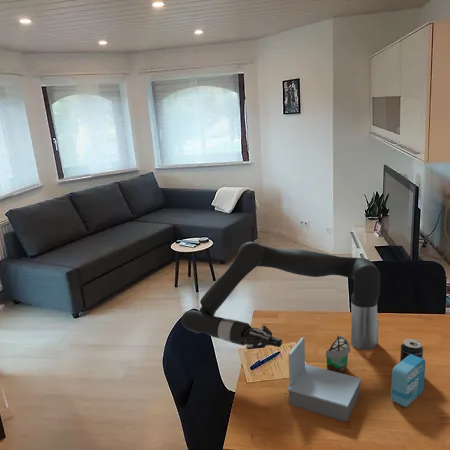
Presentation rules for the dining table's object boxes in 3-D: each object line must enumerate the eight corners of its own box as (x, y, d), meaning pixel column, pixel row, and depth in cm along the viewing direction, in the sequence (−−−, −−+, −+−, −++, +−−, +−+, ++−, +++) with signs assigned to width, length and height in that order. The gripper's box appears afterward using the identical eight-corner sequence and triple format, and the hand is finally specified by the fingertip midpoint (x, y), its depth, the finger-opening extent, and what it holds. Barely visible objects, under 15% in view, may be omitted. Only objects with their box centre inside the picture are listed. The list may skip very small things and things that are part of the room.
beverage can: (417, 383, 143) (419, 350, 140) (396, 376, 148) (397, 344, 145) (424, 373, 148) (426, 341, 145) (404, 366, 153) (405, 335, 149)
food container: (343, 382, 146) (343, 355, 144) (325, 377, 150) (325, 351, 147) (354, 363, 156) (354, 338, 154) (337, 359, 160) (337, 334, 157)
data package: (404, 409, 132) (406, 374, 129) (390, 402, 135) (391, 368, 132) (423, 391, 139) (426, 357, 136) (410, 385, 143) (411, 352, 140)
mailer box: (289, 404, 137) (288, 390, 136) (305, 380, 149) (305, 367, 148) (346, 422, 128) (346, 407, 127) (359, 395, 140) (359, 381, 138)
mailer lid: (287, 390, 136) (286, 356, 133) (304, 365, 148) (304, 334, 145) (347, 407, 126) (347, 372, 123) (361, 380, 138) (361, 347, 135)
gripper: (223, 330, 144) (271, 342, 135) (243, 313, 155) (289, 323, 146) (224, 350, 146) (272, 364, 137) (244, 332, 157) (289, 344, 148)
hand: (281, 343), depth 142 cm, fingers closed
